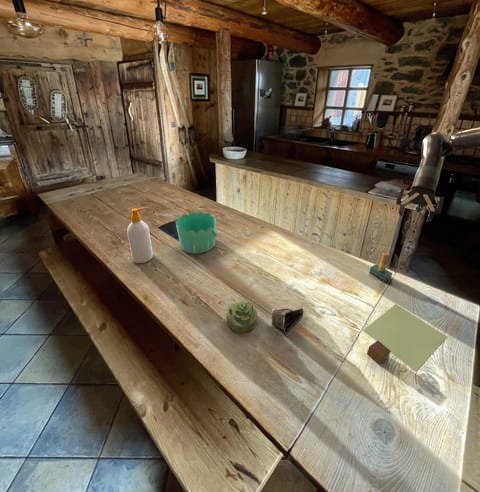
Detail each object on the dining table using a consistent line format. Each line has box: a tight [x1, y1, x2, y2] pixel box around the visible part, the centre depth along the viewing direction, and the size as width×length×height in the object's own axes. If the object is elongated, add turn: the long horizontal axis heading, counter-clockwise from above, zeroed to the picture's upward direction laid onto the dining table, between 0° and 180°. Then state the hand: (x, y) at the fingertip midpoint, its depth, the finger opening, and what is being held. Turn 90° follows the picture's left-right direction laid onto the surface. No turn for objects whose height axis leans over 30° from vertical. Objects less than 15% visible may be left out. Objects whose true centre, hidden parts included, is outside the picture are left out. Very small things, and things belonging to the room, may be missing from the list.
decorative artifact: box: [225, 301, 258, 333], centre depth 86 cm, size 10×7×10 cm
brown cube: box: [366, 340, 391, 366], centre depth 75 cm, size 4×4×4 cm
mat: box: [362, 303, 448, 373], centre depth 83 cm, size 20×16×1 cm
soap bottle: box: [126, 207, 154, 264], centre depth 113 cm, size 9×9×24 cm
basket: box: [175, 211, 219, 254], centre depth 125 cm, size 19×18×13 cm
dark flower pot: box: [270, 307, 305, 336], centre depth 87 cm, size 10×7×12 cm
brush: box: [368, 251, 393, 284], centre depth 106 cm, size 4×7×11 cm, turn 31°
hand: (413, 218), depth 97 cm, fingers open, 8 cm apart
